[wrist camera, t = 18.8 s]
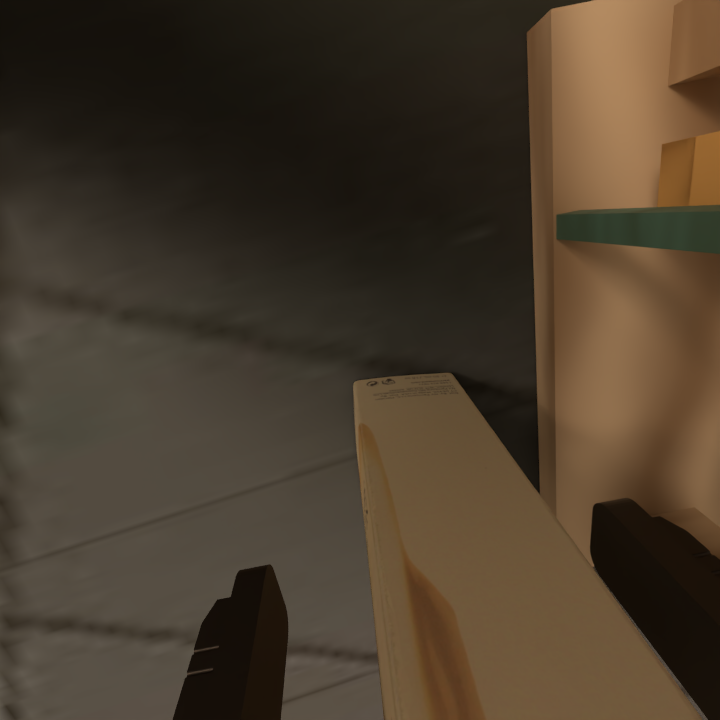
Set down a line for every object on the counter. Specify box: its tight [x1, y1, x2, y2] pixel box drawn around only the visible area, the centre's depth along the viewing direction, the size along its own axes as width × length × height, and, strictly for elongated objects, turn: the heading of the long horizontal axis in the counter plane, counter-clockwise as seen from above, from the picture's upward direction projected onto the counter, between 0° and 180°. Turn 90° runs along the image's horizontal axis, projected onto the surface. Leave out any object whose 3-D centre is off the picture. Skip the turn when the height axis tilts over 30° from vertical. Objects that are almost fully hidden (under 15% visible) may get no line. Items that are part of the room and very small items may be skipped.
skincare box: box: [353, 373, 703, 720], centre depth 12 cm, size 6×4×12 cm
